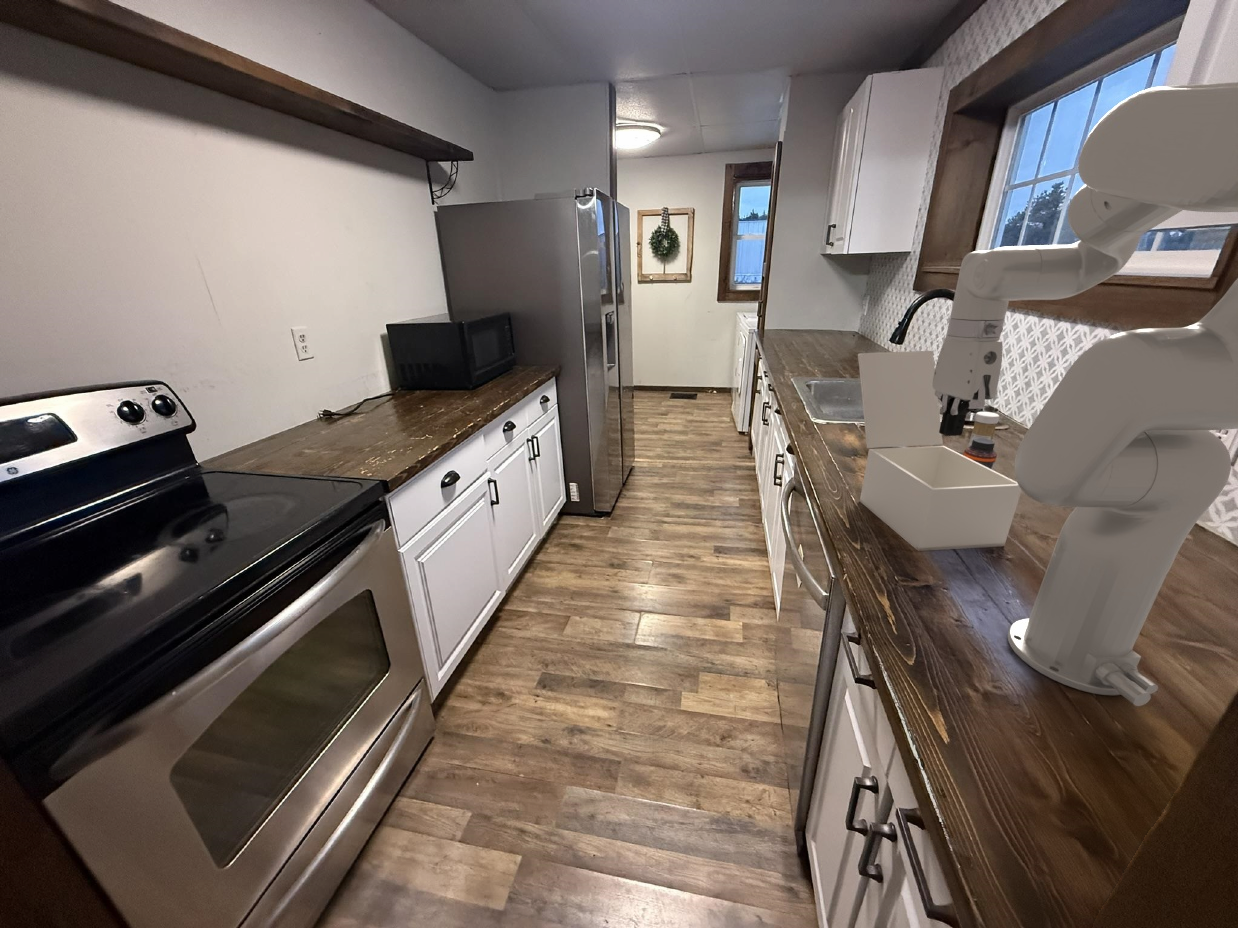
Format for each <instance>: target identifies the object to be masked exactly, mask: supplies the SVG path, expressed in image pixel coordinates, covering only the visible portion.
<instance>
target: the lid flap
mask: <svg viewBox="0 0 1238 928" xmlns="http://www.w3.org/2000/svg"><path fill="white" fill-rule="evenodd" d="M857 362H858V368H859V369H858V370H859V379H860V390H861V392H860V393H861V399H862V410H863V421H864V422H863V423H864V431H865V432H864V433H865V442H866V448H867V449H878V448H893V447H900V446H907V447H923V446H943V445H944V442H943V434H941V433H939V430H940V425H941V413H940V407H939V406H940V404H939V398H938V397H937V396H935V391H936V390H935V389H934V388H933V377H934V372H935V367H936V366H935V360H934V350H917V351H916V350H914V351H911V350H910V351H891V352H890V351H889V352H887V351H885V352H881V351H880V352H860V353H857Z"/></svg>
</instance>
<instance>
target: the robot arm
mask: <svg viewBox="0 0 1238 928" xmlns="http://www.w3.org/2000/svg"><path fill="white" fill-rule="evenodd" d="M1077 169H1078V175H1079V177H1080V179H1081V181H1082V183H1083V186H1082V187H1080V188H1079V190H1077V191H1076V192H1075V194H1074V195H1073V196H1072V199H1071V200H1070V203H1069V205H1068V209H1067V221H1068V225H1069V227H1070V229H1071V231H1072V232H1073V234H1074V235H1075V236H1076V237H1077V239H1078V241H1076V242H1074V243H1071V244H1049V245H1048V244H1044V245H1041V244H1040V245H1019V246H1018V245H1014V246H1013V245H1011V246H1001V247H995V248H994V249H993V248H992V249H989V250H975V251H972V252H968V253H967V254H966V255H964V257H963V259H962V261H961V265H960V269H959V273H958V279H957V283H956V288H955V292H954V296H953V301H952V307H951V312H950V315H949V316H950V317H949V321H948V325H947V331H946V335H945V338H944V340H943V343H942V345H941V348H940V351H939V355H938V356H937V361H936V363H935V366H934V367H935V372H934V377H933V388H934V389H935V390H936V391H935V396H937V397H938V400H939V399H940V401H941V411H942V412H943V414H942V416H941V420H940V422H941V425H940V430H939V433H941V434H942V436H946V437H953V436H955V437H957V436H958V437H959V436H962V434H963V431H964V428H965V422H966V419H967V415H970V414H971V411H972V410H979V409H980V410H981V409H984V408H985V404H986V400H988V401H989V400H993V399H994V398H995V396H996V394H997V389H998V385H999V383H1000V382H999V381H1000V376H1001V370H1002V362H1003V361H1002V360H1003V347H1004V346H1003V340H1000V339H1001V335H1002V332H1003V331H1004V328H1003V326H1004V324H1005V323H1004V322H1005V318H1006V315H1007V311H1008V307H1009V304H1010V303H1009V302H1010V301H1011V302H1012V301H1040V300H1041V301H1051V300H1052V301H1053V300H1054V301H1055V300H1062V299H1067V298H1071V297H1074V296H1076V295H1079V294H1081V293H1083V292H1085V291H1087V290H1090V289H1091V288H1093V287H1096V286H1097V285H1098V284H1099V285H1100V284H1101V283H1103V282H1104V281H1106V280H1108V279H1109V278H1111V277H1113V276H1115V275H1116V274H1117V273H1119V272H1120V271H1121V270H1122V269H1123V268H1124V267H1125V266H1126V264H1127V263H1128V262H1129V260H1130V259H1131V258H1132V256H1133V254H1135V252H1136V250H1137V248H1138V246H1139V243H1140V241H1141V237H1142V235H1143V234H1145V233H1147V232H1149V231H1150V230H1152V229H1154V228H1155V227H1157V226H1159V225H1160V224H1162V223H1164V222H1166V221H1167V220H1169V219H1171V218H1172V217H1174V216H1175V215H1177V214H1179V213H1180V212H1183V211H1187V212H1188V211H1190V212H1203V213H1234V212H1235V213H1237V212H1238V82H1220V83H1219V82H1218V83H1217V82H1216V83H1201V84H1200V83H1198V84H1194V83H1193V84H1179V85H1175V84H1174V85H1163V86H1154V87H1149V88H1147V89H1145V90H1144V89H1143V90H1141V91H1139V92H1137V93H1134V94H1133V95H1131V96H1129V97H1127V98H1126V99H1124V100H1122V101H1120V102H1119V103H1118V104H1117V105H1115V106H1114V107H1113V108H1112V109H1110V110H1109V111H1108V112H1107V113H1106V114H1105V115H1104V116H1103V117H1101V119H1100V120H1099V121H1098V123H1097V124H1095V126H1094V127H1093V128H1092V130H1091V131H1090V133H1089V134H1088V135H1087V137H1086V139H1085V141H1084V143H1083V146H1082V148H1081V150H1080V153H1079V157H1078V165H1077ZM1235 429H1236V430H1237V429H1238V277H1237V278H1236V280H1235V281H1234V282H1233V283H1232V285H1230V287H1229V288H1228V290H1227V291H1226V293H1225V294H1224V295H1223V296H1222V297H1221V298H1220V299H1219V301H1218V302H1217V303H1216V304H1215V305H1214V306H1213V307H1212V309H1210V310H1209V311H1208V312H1207V314H1206V315H1204V316H1203V317H1202V318H1201V319H1200V320H1198V321H1197V322H1195V323H1193V324H1191V325H1188V326H1184V327H1158V328H1157V327H1153V328H1150V327H1149V328H1139V329H1137V328H1136V329H1132V330H1125V331H1122V332H1118V333H1115V334H1111V335H1109V336H1107V337H1104V338H1103V339H1101V340H1100V341H1098V342H1096V343H1094V344H1093V345H1091V347H1089V348H1088V349H1087V350H1085V351H1084V352H1082V354H1081V355H1079V356H1078V358H1077V359H1075V361H1074V362H1073V363H1072V365H1071V366H1070V367H1069V369H1068V370H1067V371H1066V373H1065V374H1064V375H1063V378H1061V380H1060V382H1059V384H1058V385H1057V387H1056V388H1055V389H1054V390H1053V392H1052V394H1051V395H1050V396H1049V398H1048V399H1047V401H1046V403H1045V404H1044V405H1043V407H1042V408H1041V410H1040V412H1038V414H1037V416H1036V418H1035V419H1034V421H1033V422H1032V424H1031V425H1030V427H1029V428H1028V430H1027V431H1026V433H1025V434H1024V436H1023V437H1022V440H1021V441H1020V444H1019V445H1018V448H1017V451H1016V455H1015V458H1014V464H1013V465H1014V466H1013V469H1014V477H1015V481H1016V482H1017V483H1018V485H1019V487H1020V488H1021V490H1022V491H1021V492H1023V494H1025V495H1026V496H1027V497H1029V498H1031V499H1032V500H1033V501H1037V502H1038V503H1040V504H1044V505H1049V506H1054V507H1062V508H1063V507H1064V508H1065V507H1066V508H1074V509H1073V511H1072V512H1071V513H1070V514H1069V516H1067V519H1066V520H1065V522H1064V523H1063V526H1062V528H1061V530H1060V532H1059V535H1058V537H1057V540H1056V542H1055V546H1054V549H1053V551H1052V554H1051V556H1050V559H1049V561H1048V565H1047V568H1046V570H1045V573H1044V576H1043V580H1042V582H1041V584H1040V587H1039V590H1038V592H1037V596H1036V598H1035V601H1034V604H1033V607H1032V610H1031V612H1030V615H1029V618H1022V619H1019V620H1016V621H1014V622H1013V623H1012V624H1011V625H1010V626H1009V629H1008V633H1007V641H1008V643H1009V646H1010V647H1011V649H1012V650H1013V652H1014V653H1015V654H1016V655H1017V656H1018V657H1019V658H1020V659H1021V661H1023V662H1025V663H1026V664H1027V665H1029V666H1030V667H1031V668H1032V669H1034V670H1035V671H1036V672H1038V673H1040V674H1042V675H1044V676H1046V677H1048V678H1049V679H1050V680H1053V681H1055V682H1058V683H1060V684H1062V685H1064V686H1067V687H1070V688H1072V689H1075V690H1078V691H1083V692H1086V693H1090V694H1095V695H1103V696H1120V695H1121V696H1122V697H1123V698H1125V699H1126V700H1128V701H1129V702H1130V703H1131V704H1133V705H1134V706H1136V707H1142V706H1143V705H1144V706H1145V705H1146V704H1147V703H1148V702H1149V701H1151V697H1152V695H1151V694H1154V693H1155V692H1156V691H1158V688H1159V686H1158V685H1157V684H1156V683H1155V682H1153V681H1152V680H1150V679H1149V678H1147V677H1146V676H1144V675H1143V674H1141V673H1140V672H1139V669H1138V666H1139V665H1138V664H1139V662H1140V660H1141V659H1142V656H1141V655H1140V654H1138V653H1137V652H1136V651H1134V650H1133V649H1134V646H1135V643H1136V641H1137V640H1138V637H1139V636H1140V632H1141V631H1142V628H1143V626H1144V624H1145V622H1146V620H1147V617H1148V615H1149V613H1150V612H1151V609H1152V607H1153V605H1154V604H1155V603H1154V602H1155V601H1156V599H1157V596H1158V595H1159V591H1160V589H1161V588H1162V585H1163V583H1164V582H1165V580H1166V577H1167V574H1168V573H1169V571H1170V570H1171V567H1172V565H1173V563H1174V561H1175V560H1176V557H1177V555H1178V553H1179V551H1180V549H1181V547H1182V545H1183V544H1184V542H1185V540H1186V538H1187V537H1188V535H1189V534H1190V532H1191V530H1192V529H1193V527H1194V526H1195V524H1196V523H1198V521H1199V519H1200V518H1201V517H1202V516H1203V515H1204V514H1205V512H1206V511H1207V510H1208V509H1209V508H1210V507H1211V506H1212V505H1213V503H1214V502H1215V500H1217V498H1218V497H1219V496H1220V494H1221V493H1222V491H1223V490H1224V488H1225V487H1226V485H1227V482H1228V481H1229V478H1230V474H1231V470H1232V461H1231V460H1232V459H1231V454H1230V452H1229V450H1228V448H1227V446H1226V445H1225V444H1224V441H1222V439H1220V438H1219V437H1218V436H1217V435H1216V434H1214V433H1213V432H1211V431H1219V430H1222V431H1223V430H1235Z"/></svg>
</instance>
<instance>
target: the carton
mask: <svg viewBox="0 0 1238 928" xmlns="http://www.w3.org/2000/svg"><path fill="white" fill-rule="evenodd" d="M865 464H866V465H865V470H864V476H863V480H862V486H861V493H860V499H859V502H860V503H861V504H862V505H863V506H864V507H866V508H867V509H868V510H869V511H870V512H871V513H873V514H874V515H875V516H876V517H877V518H879V519H880V520H881V521H882V522H883V523H884V524H886V526H889V528H890V529H891V530H893V531H894V532H895V533H896V534H897V535H898V536H900V537H901V538H903V540H905V541H906V542H907V543H908V544H909V545H910V546H911V547H913V548H914V549H915V550H917V551H918V552H925V551H939V550H940V551H943V550H960V549H962V550H963V549H977V548H978V549H979V548H994V547H995V548H996V547H997V548H998V547H999V548H1000V547H1005V545H1006V541H1007V540H1008V539H1007V538H1008V535H1009V532H1010V529H1011V526H1012V523H1013V520H1014V518H1015V517H1014V516H1015V513H1016V509H1017V507H1018V503H1019V500H1020V496H1021V494H1022V492H1023V491H1022V490H1021V488H1020V487H1019V485H1018V483H1017V481H1016V480H1014V479H1012V478H1010V477H1009V476H1008V477H1007V476H1006V475H1003V474H1002V473H999V472H998V471H995V470H994V469H993V470H992V469H990V468H988V467H986V466H984V465H982V464H980V463H978V462H976V461H974V460H972V459H969V458H967V457H965V456H963V454H961V453H959V452H957V451H956V450H953V449H952V448H949V447H947V446H945V445H924V446H907V447H903V448H893V447H880V448H868V453H867V459H866V463H865Z"/></svg>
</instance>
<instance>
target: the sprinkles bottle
mask: <svg viewBox="0 0 1238 928" xmlns="http://www.w3.org/2000/svg"><path fill="white" fill-rule="evenodd" d="M999 419H1000V415H999V414H998V413H996V412H991V411H978V412H976V413H975V417H974V425H973V429H972V432H971V436H970V438H969V439H970V440H969V442H968V446H967V447H970V446H971V445H972V441H973V439H974V438H986V439H990V440H993V438H994V434H995V431H996V426H997V425H998V423H999Z"/></svg>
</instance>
